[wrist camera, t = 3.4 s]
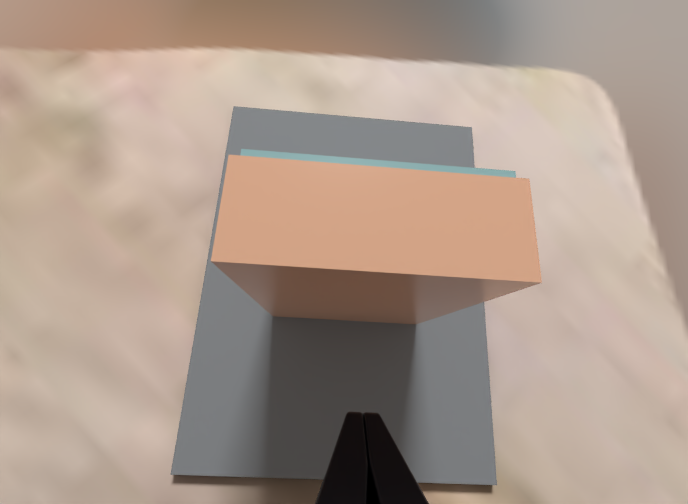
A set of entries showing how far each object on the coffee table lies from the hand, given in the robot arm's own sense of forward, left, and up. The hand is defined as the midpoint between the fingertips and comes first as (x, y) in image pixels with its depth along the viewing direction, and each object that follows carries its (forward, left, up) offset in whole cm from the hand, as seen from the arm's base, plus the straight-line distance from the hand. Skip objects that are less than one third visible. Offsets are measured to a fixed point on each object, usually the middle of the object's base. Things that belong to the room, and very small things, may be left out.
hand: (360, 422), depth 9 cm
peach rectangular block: (+3, -3, -7) cm, 9 cm away
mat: (+4, -4, -8) cm, 10 cm away
